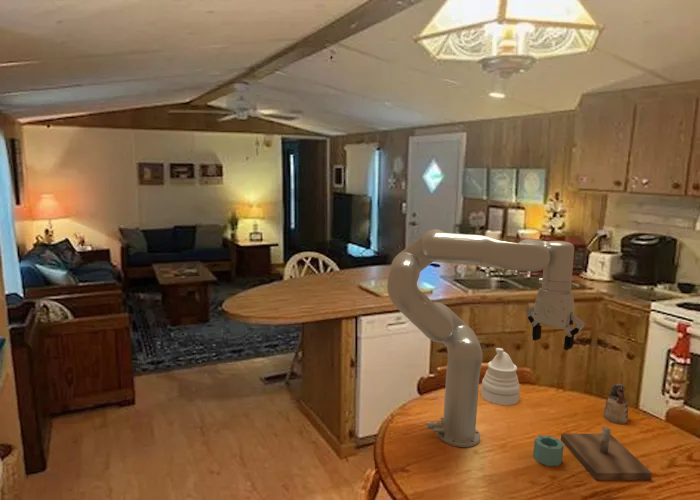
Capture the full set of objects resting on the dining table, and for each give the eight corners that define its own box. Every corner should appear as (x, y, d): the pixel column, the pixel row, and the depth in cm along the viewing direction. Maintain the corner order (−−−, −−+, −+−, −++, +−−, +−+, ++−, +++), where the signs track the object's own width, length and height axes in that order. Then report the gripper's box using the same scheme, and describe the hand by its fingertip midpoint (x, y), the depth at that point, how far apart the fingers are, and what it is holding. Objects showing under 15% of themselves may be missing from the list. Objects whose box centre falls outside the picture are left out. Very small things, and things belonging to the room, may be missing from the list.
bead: (540, 466, 141) (542, 449, 140) (530, 451, 148) (531, 435, 147) (565, 465, 141) (567, 449, 141) (554, 451, 148) (555, 435, 147)
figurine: (624, 415, 172) (628, 381, 170) (630, 425, 165) (635, 390, 163) (601, 412, 174) (605, 378, 172) (606, 422, 167) (610, 387, 165)
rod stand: (595, 480, 135) (599, 448, 134) (560, 439, 155) (563, 411, 154) (651, 479, 136) (655, 448, 135) (609, 439, 156) (612, 411, 154)
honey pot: (499, 408, 174) (503, 357, 171) (473, 393, 186) (476, 345, 183) (526, 400, 181) (531, 351, 178) (499, 386, 192) (503, 340, 189)
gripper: (521, 281, 149) (517, 338, 152) (579, 293, 136) (574, 355, 139) (536, 278, 154) (532, 333, 157) (593, 289, 141) (588, 350, 143)
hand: (551, 344), depth 148 cm, fingers open, 9 cm apart
